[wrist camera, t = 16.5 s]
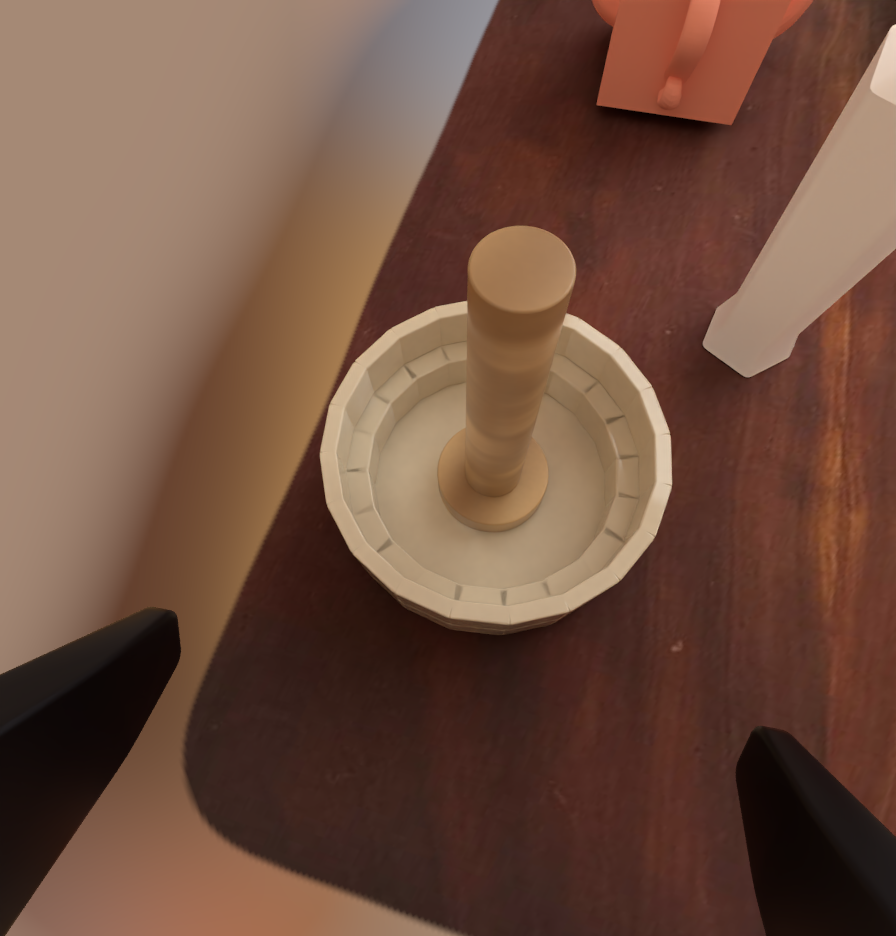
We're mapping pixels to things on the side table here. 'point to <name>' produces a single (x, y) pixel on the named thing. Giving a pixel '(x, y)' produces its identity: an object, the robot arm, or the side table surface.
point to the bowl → (561, 510)
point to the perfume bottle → (820, 230)
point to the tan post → (506, 377)
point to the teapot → (688, 53)
